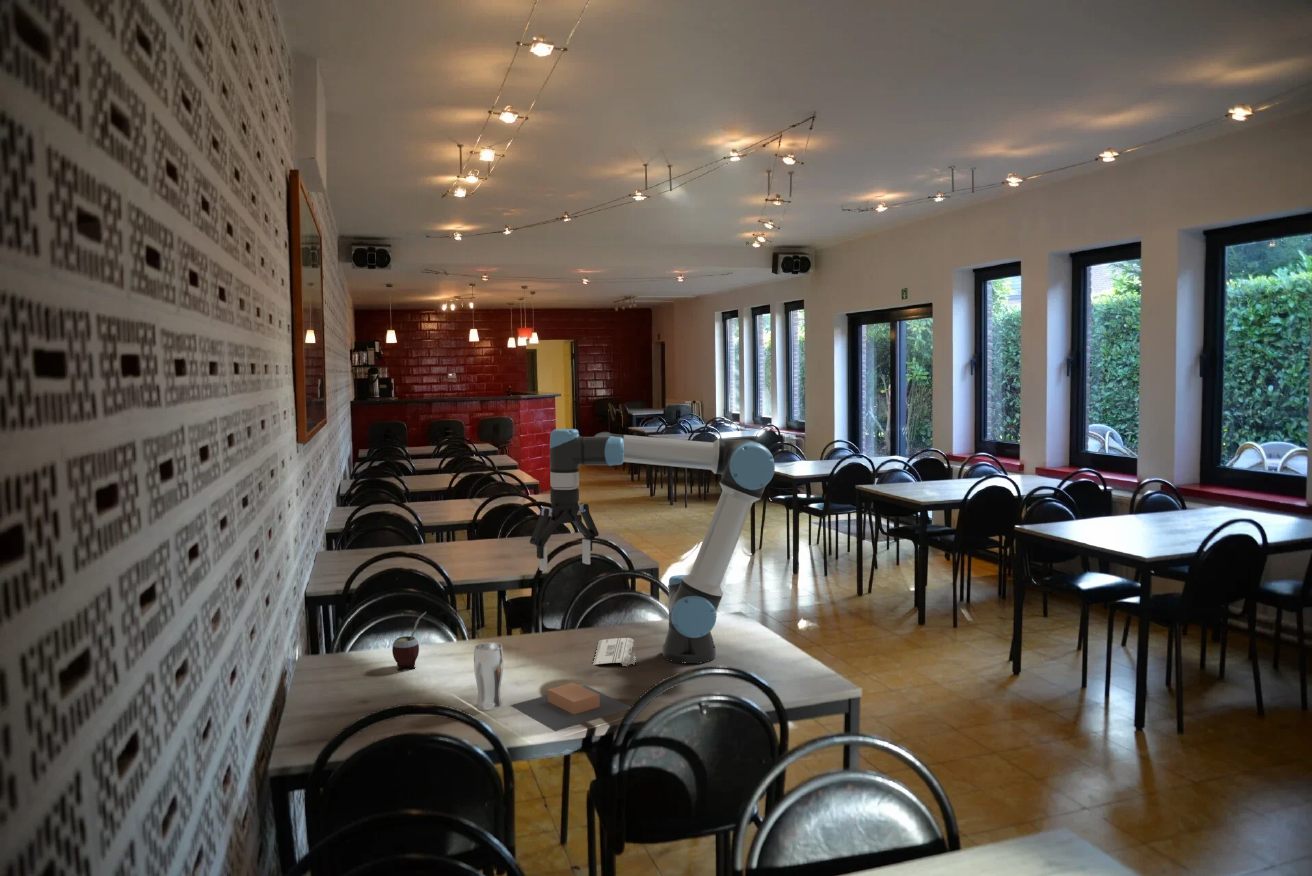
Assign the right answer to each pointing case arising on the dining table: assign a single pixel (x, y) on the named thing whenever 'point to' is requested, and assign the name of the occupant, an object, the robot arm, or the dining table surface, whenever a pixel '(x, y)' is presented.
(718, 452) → the robot arm
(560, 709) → the rubber mat
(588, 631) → the dining table surface
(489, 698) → the beer glass
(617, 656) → the newspaper
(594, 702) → the card deck box
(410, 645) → the mate gourd
